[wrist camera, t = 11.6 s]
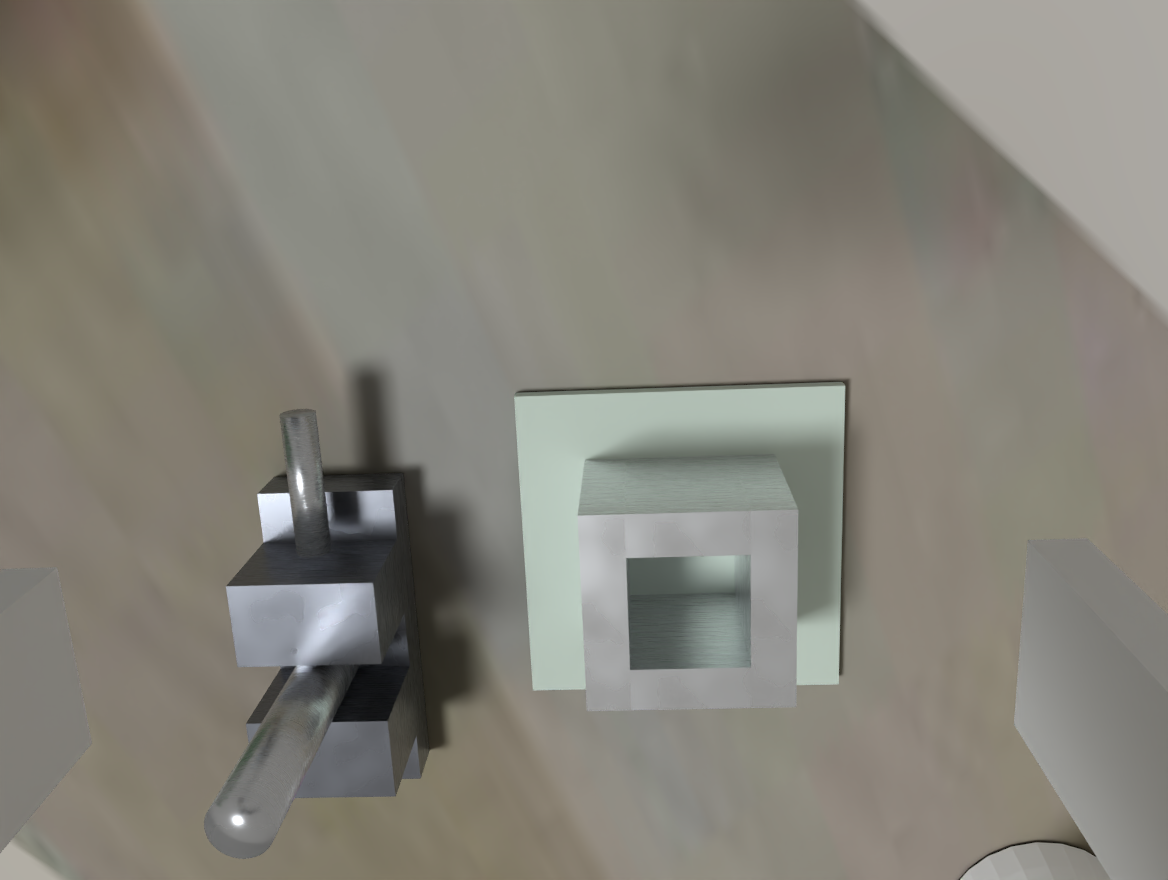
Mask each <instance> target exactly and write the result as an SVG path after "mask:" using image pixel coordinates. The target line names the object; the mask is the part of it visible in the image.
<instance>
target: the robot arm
mask: <svg viewBox="0 0 1168 880" xmlns="http://www.w3.org/2000/svg"><path fill="white" fill-rule="evenodd" d="M1014 725H1015V727H1016V728H1017V730H1018V732H1019V733H1020V735H1021V736H1022V738H1023V740H1024V741H1025V743H1026V745H1027V746H1028V748H1029V749H1030V751H1031V753H1032V754H1033V756H1034V757H1035V759H1036V761H1037V762H1038V764H1039V765H1040V767H1041V769H1042V770H1043V772H1044V773H1045V775H1046V777H1047V778H1048V780H1049V781H1050V783H1051V785H1052V786H1053V788H1054V789H1055V791H1056V793H1057V794H1058V796H1059V797H1060V799H1061V801H1062V802H1063V804H1064V805H1065V807H1066V809H1067V810H1068V812H1069V813H1070V815H1071V817H1072V818H1073V820H1074V821H1075V823H1076V825H1077V826H1078V828H1079V829H1080V831H1081V833H1082V834H1083V836H1084V838H1085V839H1086V841H1087V842H1088V844H1089V846H1090V847H1091V849H1092V850H1093V852H1094V854H1095V855H1096V857H1097V858H1098V860H1099V862H1100V863H1101V865H1102V866H1103V868H1104V870H1105V871H1106V873H1107V874H1108V876H1109V878H1110V879H1111V880H1168V614H1167V613H1166V612H1165V611H1164V610H1162V609H1161V608H1160V607H1159V606H1158V605H1157V604H1156V603H1155V602H1154V601H1153V600H1152V599H1151V598H1150V597H1149V596H1148V595H1147V594H1146V593H1144V592H1143V591H1142V590H1141V589H1140V588H1139V587H1138V586H1137V585H1136V584H1135V583H1134V582H1133V581H1132V580H1131V579H1130V578H1129V577H1128V576H1126V575H1125V574H1124V573H1123V572H1122V571H1121V570H1120V569H1119V568H1118V567H1117V566H1116V565H1115V564H1114V563H1113V562H1112V561H1111V560H1110V559H1108V558H1107V557H1106V556H1105V555H1104V554H1103V553H1102V552H1101V551H1100V550H1099V549H1098V548H1097V547H1096V546H1095V545H1094V544H1093V543H1092V542H1090V541H1089V540H1088V539H1087V538H1086V539H1050V540H1028V546H1027V560H1026V573H1025V586H1024V599H1023V612H1022V626H1021V639H1020V652H1019V665H1018V679H1017V692H1016V705H1015V718H1014ZM91 744H92V741H91V736H90V731H89V726H88V720H87V715H86V710H85V705H84V700H83V695H82V690H81V685H80V680H79V675H78V670H77V665H76V660H75V655H74V650H73V645H72V640H71V635H70V630H69V625H68V620H67V615H66V610H65V605H64V600H63V595H62V590H61V585H60V580H59V575H58V570H57V568H23V569H2V570H1V571H0V853H1V852H2V850H3V849H4V848H5V847H6V846H7V844H8V843H9V842H10V841H11V840H12V838H13V837H14V836H15V835H16V834H17V832H18V831H19V830H20V829H21V828H22V827H23V825H24V824H25V823H26V822H27V821H28V819H29V818H30V817H31V816H32V815H33V813H34V812H35V811H36V810H37V809H38V807H39V806H40V805H41V804H42V803H43V801H44V800H45V799H46V798H47V797H48V795H49V794H50V793H51V792H52V791H53V789H54V788H55V787H56V786H57V785H58V783H59V782H60V781H61V780H62V779H63V777H64V776H65V775H66V774H67V773H68V771H69V770H70V769H71V768H72V767H73V765H74V764H75V763H76V762H77V761H78V759H79V758H80V757H81V756H82V755H83V753H84V752H85V751H86V750H87V749H88V747H89V746H90V745H91Z"/></svg>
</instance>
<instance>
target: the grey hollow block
mask: <svg viewBox="0 0 1168 880" xmlns="http://www.w3.org/2000/svg"><path fill="white" fill-rule="evenodd" d="M577 517H578V537H579V558H580V579H581V599H582V620H583V640H584V661H585V681H586V702H587V711H612V710H666V709H719V708H773V707H796V684H797V589H798V508H797V505H796V503H795V501H794V498H793V496H792V494H791V491H790V489H789V487H788V484H787V482H786V480H785V477H784V475H783V473H782V470H781V468H780V466H779V463H778V461H777V458H776V456H775V454H760V455H727V456H694V457H661V458H628V459H595V460H585V462H584V470H583V478H582V485H581V493H580V500H579V508H578V515H577ZM730 555H734V579H735V593H697V594H655V595H630V579H629V558H652V557H691V556H730Z"/></svg>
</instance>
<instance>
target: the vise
mask: <svg viewBox="0 0 1168 880" xmlns="http://www.w3.org/2000/svg"><path fill="white" fill-rule="evenodd" d="M279 416H280V424H281V432H282V440H283V448H284V456H285V464H286V472H287V477H274V478H273V479H272V480H271V481H270V482H269V483H268V484H267V485H266V486H265V487H264V488H263V489H262V490H261V491H260V492H259V493H258V494H257V496H258V503H259V511H260V518H261V526H262V533H263V540H264V543H263V544H262V545H261V546H260V548H259V549H258V550H257V551H256V552H255V553H254V554H253V556H252V557H251V558H250V559H249V560H248V561H247V563H246V564H245V565H244V566H243V567H242V568H241V570H240V571H239V572H238V573H237V574H236V575H235V577H234V578H233V579H232V580H231V581H230V582H229V584H228V585H227V586H226V590H227V597H228V604H229V611H230V617H231V624H232V631H233V638H234V645H235V652H236V659H237V666H238V667H260V666H280V667H281V669H280V671H279V672H278V674H277V676H276V677H275V679H274V680H273V682H272V683H271V685H270V687H269V688H268V690H267V691H266V693H265V695H264V696H263V698H262V699H261V701H260V702H259V704H258V706H257V707H256V709H255V710H254V712H253V714H252V715H251V717H250V718H249V720H248V721H247V723H246V727H247V734H248V741H249V744H248V746H247V748H246V749H245V751H244V752H243V754H242V756H241V757H240V759H239V761H238V762H237V764H236V766H235V767H234V769H233V771H232V772H231V774H230V776H229V777H228V779H227V780H226V782H225V784H224V785H223V787H222V789H221V790H220V792H219V794H218V795H217V797H216V799H215V800H214V802H213V803H212V805H211V807H210V808H209V810H208V812H207V814H206V816H205V820H204V829H205V833H206V835H207V838H208V839H209V841H210V842H211V844H212V845H213V846H214V847H215V848H216V849H217V850H219V851H220V852H222V853H224V854H226V855H228V856H231V857H234V858H242V859H246V858H253V857H256V856H258V855H261V854H262V853H264V852H265V851H266V850H267V849H268V848H269V847H270V846H271V844H272V842H273V840H274V838H275V836H276V834H277V832H278V830H279V828H280V826H281V824H282V822H283V820H284V818H285V816H286V814H287V812H288V810H289V808H290V806H291V804H292V802H293V799H294V798H319V797H386V796H396V794H397V791H398V788H399V785H400V782H401V779H418V778H421V776H422V772H423V769H424V766H425V763H426V760H427V757H428V754H429V741H428V730H427V719H426V709H425V698H424V688H423V677H422V666H421V656H420V645H419V635H418V624H417V614H416V603H415V592H414V582H413V571H412V561H411V550H410V539H409V529H408V518H407V508H406V497H405V486H404V476H403V473H391V474H358V475H324V476H323V470H322V461H321V453H320V444H319V435H318V427H317V418H316V411H315V410H311V409H297V410H291V411H286V412H283V413H281V414H280V415H279Z"/></svg>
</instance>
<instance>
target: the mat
mask: <svg viewBox="0 0 1168 880" xmlns="http://www.w3.org/2000/svg"><path fill="white" fill-rule="evenodd" d="M514 400H515V416H516V432H517V447H518V463H519V479H520V494H521V510H522V526H523V541H524V557H525V573H526V589H527V604H528V620H529V636H530V651H531V667H532V683H533V690H573V689H586V681H585V661H584V640H583V620H582V599H581V579H580V558H579V537H578V517H577V515H578V508H579V500H580V493H581V485H582V478H583V470H584V462H585V460H595V459H628V458H661V457H694V456H727V455H760V454H775V456H776V458H777V461H778V463H779V466H780V468H781V470H782V473H783V475H784V477H785V480H786V482H787V484H788V487H789V489H790V491H791V494H792V496H793V498H794V501H795V503H796V505H797V508H798V589H797V684H796V685H825V684H839V645H840V600H841V554H842V509H843V464H844V419H845V385H844V383H843V382H820V383H791V384H761V385H731V386H701V387H672V388H642V389H612V390H582V391H553V392H523V393H516V394H515V396H514ZM629 579H630V595H655V594H697V593H735V579H734V555H730V556H691V557H652V558H629Z"/></svg>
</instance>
